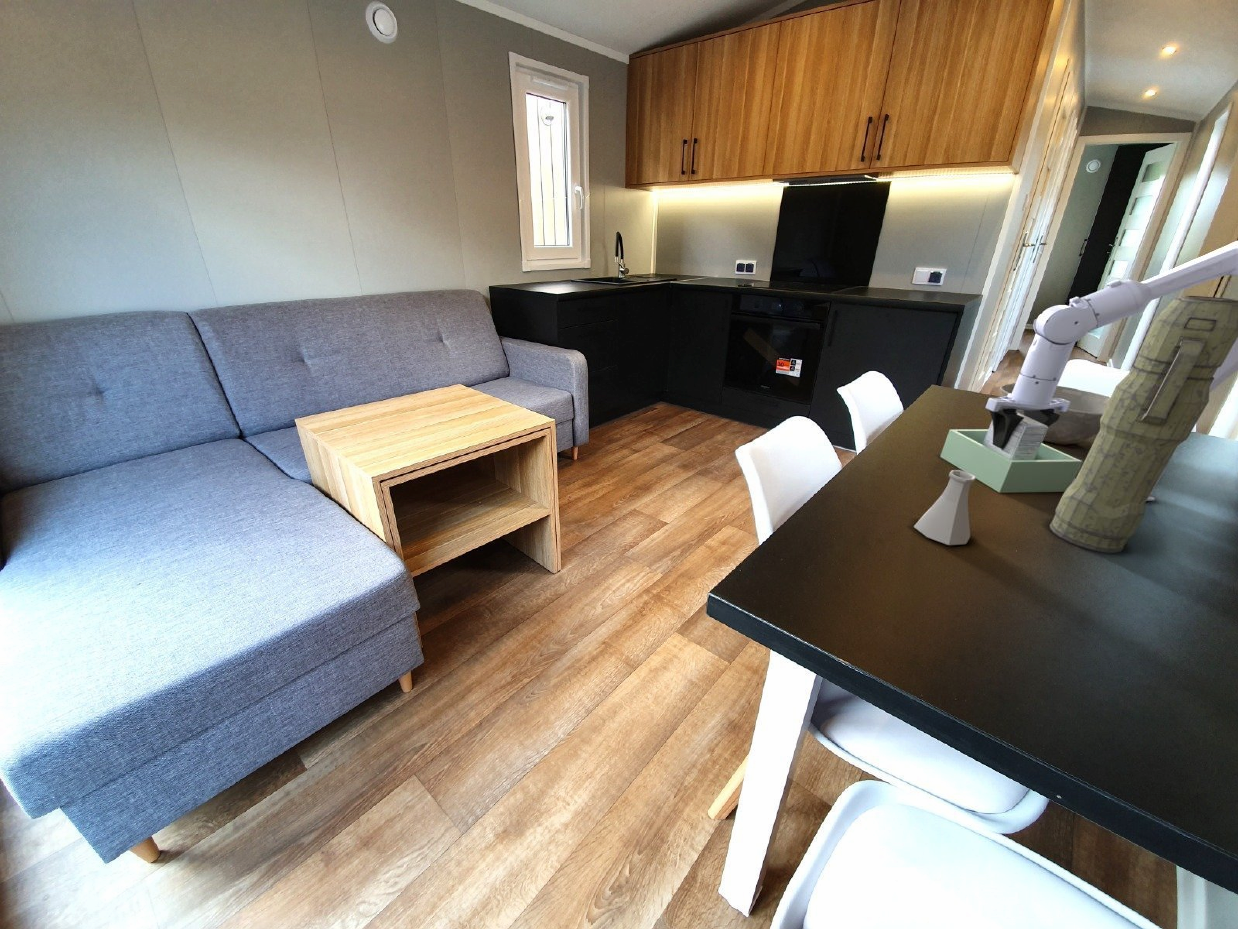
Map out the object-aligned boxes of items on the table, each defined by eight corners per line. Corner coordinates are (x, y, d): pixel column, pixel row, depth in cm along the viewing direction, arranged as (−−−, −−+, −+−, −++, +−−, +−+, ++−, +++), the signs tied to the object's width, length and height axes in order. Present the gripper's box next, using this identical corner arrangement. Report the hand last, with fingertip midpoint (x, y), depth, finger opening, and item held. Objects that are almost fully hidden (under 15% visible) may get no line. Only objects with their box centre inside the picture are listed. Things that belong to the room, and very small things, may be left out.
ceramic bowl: (987, 414, 128) (1001, 377, 124) (1103, 435, 116) (1123, 395, 112) (984, 439, 112) (1000, 397, 107) (1119, 466, 100) (1143, 420, 96)
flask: (950, 551, 70) (974, 490, 66) (904, 526, 76) (923, 468, 72) (979, 539, 73) (1004, 480, 69) (932, 516, 79) (952, 460, 75)
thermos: (1051, 543, 73) (1173, 298, 58) (1046, 511, 82) (1151, 291, 67) (1131, 566, 68) (1286, 306, 53) (1117, 530, 77) (1246, 297, 62)
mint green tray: (1000, 456, 103) (1010, 429, 100) (1068, 491, 89) (1082, 461, 86) (940, 456, 102) (949, 429, 99) (999, 492, 88) (1012, 462, 85)
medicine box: (1030, 470, 91) (1050, 426, 87) (1007, 469, 91) (1026, 425, 87) (1000, 452, 98) (1017, 411, 94) (978, 451, 98) (995, 410, 94)
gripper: (1056, 370, 91) (1027, 438, 97) (984, 370, 90) (960, 438, 96) (1092, 381, 85) (1059, 452, 91) (1016, 380, 84) (987, 453, 89)
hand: (1010, 446), depth 93 cm, fingers closed on medicine box, 4 cm apart
